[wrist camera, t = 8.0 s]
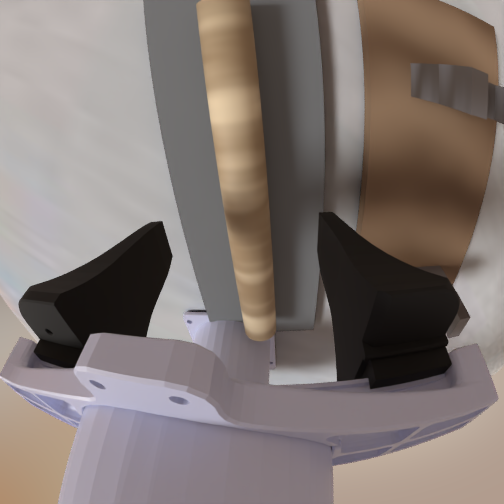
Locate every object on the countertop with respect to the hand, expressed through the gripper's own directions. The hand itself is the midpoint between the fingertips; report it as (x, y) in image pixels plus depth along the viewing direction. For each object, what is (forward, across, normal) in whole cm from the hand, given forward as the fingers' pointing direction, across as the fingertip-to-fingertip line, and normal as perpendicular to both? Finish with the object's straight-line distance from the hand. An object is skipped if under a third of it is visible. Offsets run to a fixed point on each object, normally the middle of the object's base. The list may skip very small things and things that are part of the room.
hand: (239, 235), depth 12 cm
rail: (+4, 0, 0) cm, 5 cm away
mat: (+5, 0, 0) cm, 5 cm away
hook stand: (+5, -12, 0) cm, 13 cm away
